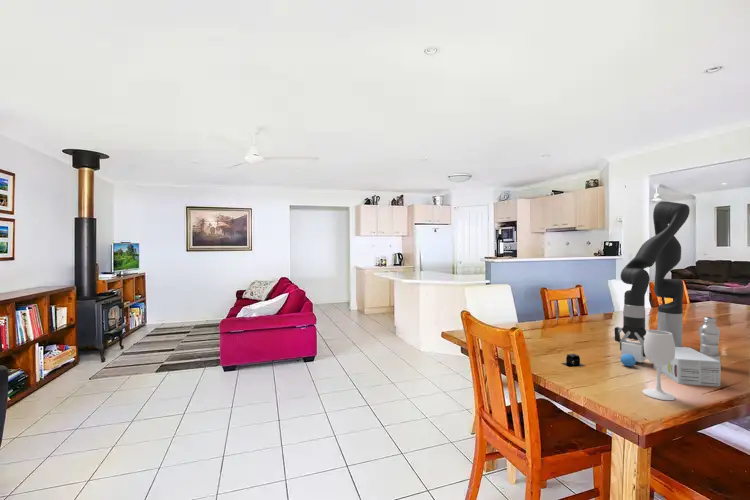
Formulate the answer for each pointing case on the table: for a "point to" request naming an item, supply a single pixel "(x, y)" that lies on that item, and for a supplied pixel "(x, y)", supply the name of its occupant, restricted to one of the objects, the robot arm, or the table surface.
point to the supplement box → (693, 368)
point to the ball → (628, 360)
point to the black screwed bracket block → (573, 358)
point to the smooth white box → (633, 350)
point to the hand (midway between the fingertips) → (633, 354)
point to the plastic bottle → (709, 338)
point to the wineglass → (659, 358)
